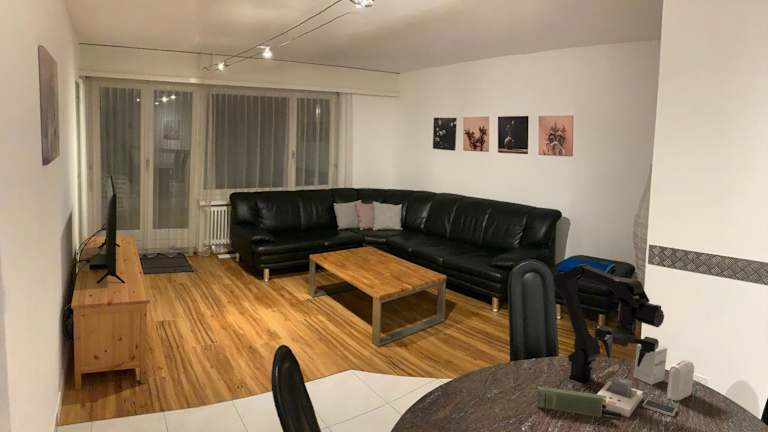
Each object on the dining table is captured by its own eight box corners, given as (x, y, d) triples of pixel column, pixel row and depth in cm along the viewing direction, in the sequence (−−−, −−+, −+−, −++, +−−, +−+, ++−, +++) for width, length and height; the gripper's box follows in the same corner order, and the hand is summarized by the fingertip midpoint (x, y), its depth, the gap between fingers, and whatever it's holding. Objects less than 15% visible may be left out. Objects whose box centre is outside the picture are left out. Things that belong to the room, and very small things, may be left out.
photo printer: (680, 389, 179) (684, 355, 178) (693, 394, 176) (697, 360, 174) (664, 397, 174) (668, 362, 172) (677, 402, 170) (681, 367, 168)
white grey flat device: (592, 405, 167) (593, 397, 167) (607, 388, 179) (608, 380, 179) (628, 417, 160) (629, 409, 160) (642, 398, 172) (642, 391, 172)
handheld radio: (536, 403, 168) (619, 416, 162) (536, 408, 165) (621, 421, 158) (538, 384, 167) (621, 396, 160) (538, 389, 164) (623, 402, 157)
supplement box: (652, 385, 182) (655, 351, 180) (633, 377, 188) (636, 344, 187) (664, 381, 186) (668, 347, 184) (645, 372, 192) (648, 340, 190)
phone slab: (673, 416, 161) (673, 414, 161) (642, 406, 167) (642, 404, 167) (676, 410, 165) (677, 407, 165) (646, 401, 171) (646, 398, 171)
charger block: (610, 397, 172) (612, 381, 171) (615, 391, 176) (616, 376, 175) (626, 402, 169) (628, 386, 168) (630, 396, 173) (632, 380, 172)
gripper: (590, 316, 170) (586, 361, 172) (652, 331, 158) (647, 379, 160) (601, 309, 178) (598, 351, 181) (661, 322, 166) (656, 368, 169)
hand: (623, 362), depth 172 cm, fingers open, 9 cm apart
